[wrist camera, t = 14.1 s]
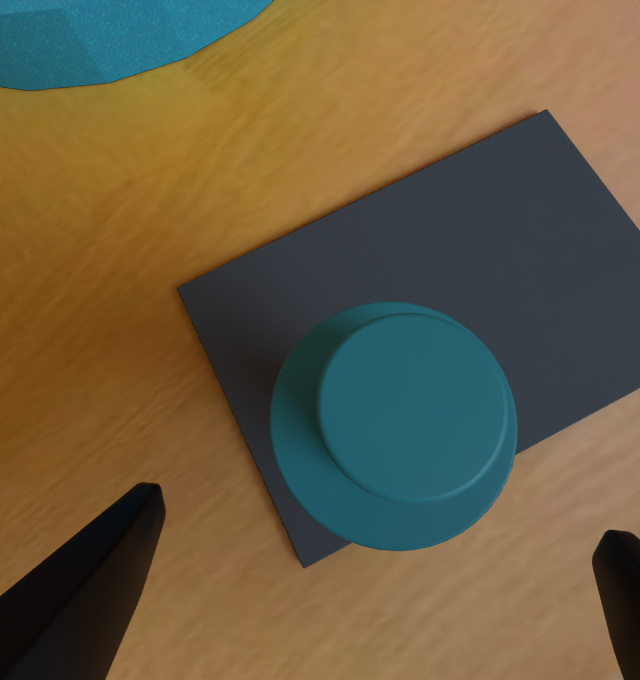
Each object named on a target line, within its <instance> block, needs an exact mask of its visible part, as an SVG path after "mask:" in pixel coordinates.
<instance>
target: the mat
mask: <svg viewBox="0 0 640 680" xmlns="http://www.w3.org/2000/svg"><path fill="white" fill-rule="evenodd" d="M177 290H178V292H179V294H180V297H181V299H182V301H183V303H184V305H185V308H186V310H187V312H188V314H189V316H190V319H191V321H192V323H193V325H194V328H195V330H196V332H197V334H198V336H199V339H200V341H201V343H202V345H203V347H204V350H205V352H206V354H207V356H208V358H209V361H210V363H211V365H212V367H213V370H214V372H215V374H216V376H217V378H218V381H219V383H220V385H221V387H222V389H223V392H224V394H225V396H226V398H227V401H228V403H229V405H230V407H231V409H232V412H233V414H234V416H235V418H236V420H237V423H238V425H239V427H240V429H241V432H242V434H243V436H244V438H245V440H246V443H247V445H248V447H249V449H250V451H251V454H252V456H253V458H254V460H255V463H256V465H257V467H258V469H259V471H260V474H261V476H262V478H263V480H264V482H265V485H266V487H267V489H268V491H269V494H270V496H271V498H272V500H273V502H274V505H275V507H276V509H277V511H278V513H279V516H280V518H281V520H282V522H283V525H284V527H285V529H286V531H287V533H288V536H289V538H290V540H291V542H292V544H293V547H294V549H295V551H296V553H297V556H298V558H299V560H300V562H301V564H302V567H303V568H306V567H308V566H310V565H312V564H314V563H315V562H317V561H319V560H321V559H323V558H325V557H327V556H328V555H330V554H332V553H334V552H336V551H338V550H340V549H341V548H343V547H345V546H347V545H349V544H351V543H353V542H350V541H347V540H345V539H343V538H341V537H339V536H338V535H336V534H334V533H332V532H330V531H329V530H327V529H326V528H325V527H323V526H322V525H320V524H319V523H318V522H316V521H315V520H314V519H313V518H312V517H311V516H310V515H309V514H308V513H307V512H306V511H305V510H304V509H303V508H302V507H301V506H300V504H299V503H298V502H297V501H296V499H295V498H294V497H293V495H292V494H291V492H290V491H289V489H288V487H287V486H286V484H285V483H284V480H283V478H282V476H281V474H280V472H279V469H278V467H277V464H276V461H275V458H274V454H273V451H272V445H271V439H270V428H269V415H270V403H271V399H272V394H273V389H274V386H275V383H276V380H277V378H278V375H279V372H280V370H281V368H282V366H283V364H284V362H285V361H286V359H287V357H288V356H289V354H290V353H291V351H292V350H293V349H294V347H295V346H296V345H297V344H298V342H299V341H300V340H301V339H302V338H303V337H304V336H305V335H306V334H307V333H308V332H309V331H310V330H312V329H313V328H314V327H315V326H316V325H318V324H319V323H321V322H322V321H324V320H325V319H327V318H328V317H330V316H332V315H334V314H336V313H338V312H340V311H342V310H345V309H348V308H351V307H354V306H357V305H361V304H366V303H371V302H382V301H396V302H407V303H413V304H418V305H421V306H425V307H428V308H431V309H434V310H436V311H438V312H441V313H443V314H445V315H447V316H449V317H451V318H452V319H454V320H456V321H458V322H459V323H461V324H462V325H463V326H465V327H466V328H467V329H469V330H470V331H471V332H472V333H473V334H475V335H476V336H477V337H478V338H479V339H480V340H481V341H482V342H483V343H484V344H485V346H486V347H487V348H488V349H489V351H490V352H491V353H492V354H493V356H494V357H495V359H496V360H497V362H498V364H499V365H500V367H501V369H502V370H503V372H504V375H505V377H506V379H507V381H508V384H509V386H510V389H511V393H512V396H513V399H514V403H515V409H516V415H517V444H516V452H515V455H516V454H518V453H520V452H522V451H524V450H525V449H527V448H529V447H531V446H533V445H535V444H537V443H538V442H540V441H542V440H544V439H546V438H548V437H550V436H551V435H553V434H555V433H557V432H559V431H561V430H563V429H564V428H566V427H568V426H570V425H572V424H574V423H576V422H577V421H579V420H581V419H583V418H585V417H587V416H589V415H591V414H592V413H594V412H596V411H598V410H600V409H602V408H604V407H605V406H607V405H609V404H611V403H613V402H615V401H617V400H618V399H620V398H622V397H624V396H626V395H628V394H630V393H631V392H633V391H635V390H637V389H639V388H640V231H639V229H638V228H637V227H636V225H635V224H634V223H633V221H632V220H631V219H630V218H629V216H628V215H627V214H626V212H625V211H624V210H623V208H622V207H621V206H620V204H619V203H618V202H617V200H616V199H615V198H614V197H613V195H612V194H611V193H610V191H609V190H608V189H607V187H606V186H605V185H604V183H603V182H602V181H601V179H600V178H599V177H598V176H597V174H596V173H595V172H594V170H593V169H592V168H591V166H590V165H589V164H588V162H587V161H586V160H585V158H584V157H583V156H582V155H581V153H580V152H579V151H578V149H577V148H576V147H575V145H574V144H573V143H572V141H571V140H570V139H569V137H568V136H567V135H566V134H565V132H564V131H563V130H562V128H561V127H560V126H559V124H558V123H557V122H556V120H555V119H554V118H553V116H552V115H551V114H550V113H549V111H548V110H547V109H546V110H544V111H542V112H540V113H538V114H536V115H534V116H531V117H529V118H527V119H525V120H523V121H521V122H519V123H517V124H515V125H513V126H511V127H509V128H507V129H505V130H502V131H500V132H498V133H496V134H494V135H492V136H490V137H488V138H486V139H484V140H482V141H480V142H478V143H476V144H474V145H471V146H469V147H467V148H465V149H463V150H461V151H459V152H457V153H455V154H453V155H451V156H449V157H447V158H445V159H442V160H440V161H438V162H436V163H434V164H432V165H430V166H428V167H426V168H424V169H422V170H420V171H418V172H416V173H414V174H411V175H409V176H407V177H405V178H403V179H401V180H399V181H397V182H395V183H393V184H391V185H389V186H387V187H385V188H382V189H380V190H378V191H376V192H374V193H372V194H370V195H368V196H366V197H364V198H362V199H360V200H358V201H356V202H354V203H351V204H349V205H347V206H345V207H343V208H341V209H339V210H337V211H335V212H333V213H331V214H329V215H327V216H325V217H322V218H320V219H318V220H316V221H314V222H312V223H310V224H308V225H306V226H304V227H302V228H300V229H298V230H296V231H294V232H291V233H289V234H287V235H285V236H283V237H281V238H279V239H277V240H275V241H273V242H271V243H269V244H267V245H265V246H262V247H260V248H258V249H256V250H254V251H252V252H250V253H248V254H246V255H244V256H242V257H240V258H238V259H236V260H234V261H231V262H229V263H227V264H225V265H223V266H221V267H219V268H217V269H215V270H213V271H211V272H209V273H207V274H205V275H202V276H200V277H198V278H196V279H194V280H192V281H190V282H188V283H186V284H184V285H182V286H180V287H178V288H177Z"/></svg>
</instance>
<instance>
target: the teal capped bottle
mask: <svg viewBox="0 0 640 680" xmlns="http://www.w3.org/2000/svg"><path fill="white" fill-rule="evenodd" d="M269 428H270V439H271V445H272V451H273V454H274V458H275V461H276V464H277V467H278V469H279V472H280V474H281V476H282V478H283V480H284V483H285V484H286V486H287V487H288V489H289V491H290V492H291V494H292V495H293V497H294V498H295V499H296V501H297V502H298V503H299V504H300V506H301V507H302V508H303V509H304V510H305V511H306V512H307V513H308V514H309V515H310V516H311V517H312V518H313V519H314V520H315V521H316V522H318V523H319V524H320V525H322V526H323V527H325V528H326V529H327V530H329V531H330V532H332V533H334V534H336V535H338V536H339V537H341V538H343V539H345V540H347V541H350V542H353V543H355V544H358V545H361V546H364V547H369V548H373V549H378V550H388V551H407V550H417V549H421V548H426V547H431V546H434V545H436V544H439V543H442V542H445V541H447V540H449V539H451V538H453V537H455V536H457V535H458V534H460V533H462V532H464V531H465V530H466V529H468V528H469V527H470V526H472V525H473V524H474V523H476V522H477V521H478V520H479V519H480V518H481V517H482V516H483V515H484V514H485V513H486V512H487V511H488V510H489V508H490V507H491V506H492V504H493V503H494V502H495V500H496V499H497V498H498V496H499V494H500V492H501V491H502V489H503V487H504V485H505V483H506V481H507V479H508V476H509V474H510V471H511V468H512V465H513V461H514V457H515V452H516V444H517V415H516V409H515V403H514V399H513V396H512V393H511V389H510V386H509V384H508V381H507V379H506V377H505V375H504V372H503V370H502V369H501V367H500V365H499V364H498V362H497V360H496V359H495V357H494V356H493V354H492V353H491V352H490V351H489V349H488V348H487V347H486V346H485V344H484V343H483V342H482V341H481V340H480V339H479V338H478V337H477V336H476V335H475V334H473V333H472V332H471V331H470V330H469V329H467V328H466V327H465V326H463V325H462V324H461V323H459V322H458V321H456V320H454V319H452V318H451V317H449V316H447V315H445V314H443V313H441V312H438V311H436V310H434V309H431V308H428V307H425V306H421V305H418V304H413V303H407V302H396V301H382V302H371V303H366V304H361V305H357V306H354V307H351V308H348V309H345V310H342V311H340V312H338V313H336V314H334V315H332V316H330V317H328V318H327V319H325V320H324V321H322V322H321V323H319V324H318V325H316V326H315V327H314V328H313V329H312V330H310V331H309V332H308V333H307V334H306V335H305V336H304V337H303V338H302V339H301V340H300V341H299V342H298V344H297V345H296V346H295V347H294V349H293V350H292V351H291V353H290V354H289V356H288V357H287V359H286V361H285V362H284V364H283V366H282V368H281V370H280V372H279V375H278V378H277V380H276V383H275V386H274V389H273V394H272V399H271V403H270V415H269Z"/></svg>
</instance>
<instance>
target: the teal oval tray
mask: <svg viewBox="0 0 640 680" xmlns="http://www.w3.org/2000/svg"><path fill="white" fill-rule="evenodd" d="M272 1H273V0H0V87H7V88H14V89H22V90H39V89H50V88H60V87H70V86H80V85H91V84H101V83H109V82H112V81H115V80H118V79H122V78H125V77H128V76H131V75H134V74H137V73H140V72H143V71H146V70H150V69H153V68H156V67H159V66H162V65H165V64H168V63H171V62H174V61H178V60H181V59H184V58H186V57H188V56H190V55H191V54H193V53H195V52H197V51H198V50H200V49H202V48H204V47H205V46H207V45H209V44H211V43H212V42H214V41H216V40H217V39H219V38H221V37H223V36H224V35H226V34H228V33H230V32H231V31H233V30H235V29H237V28H238V27H240V26H242V25H243V24H245V23H247V22H249V21H250V20H252V19H254V18H255V17H256V16H257V15H258V14H259V13H260V12H261V11H262V10H263V9H264V8H265V7H266V6H268V5H269V4H270V3H271V2H272Z"/></svg>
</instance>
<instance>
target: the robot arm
mask: <svg viewBox="0 0 640 680" xmlns="http://www.w3.org/2000/svg"><path fill="white" fill-rule="evenodd" d="M165 515H166V509H165V504H164V499H163V495H162V490H161V487H160V485H159V484H156V483H146V482H141V483H139V484H137V485H135V486H134V487H133V488H132V489H130V490H129V491H128V492H127V493H126V494H124V495H123V496H122V497H121V498H119V499H118V500H117V501H116V502H115V503H113V504H112V505H111V506H110V507H108V508H107V509H106V510H105V511H104V512H102V513H101V514H100V515H99V516H97V517H96V518H95V519H94V520H93V521H91V522H90V523H89V524H88V525H86V526H85V527H84V528H83V529H82V530H80V531H79V532H78V533H77V534H75V535H74V536H73V537H72V538H71V539H69V540H68V541H67V542H66V543H64V544H63V545H62V546H61V547H60V548H58V549H57V550H56V551H55V552H53V553H52V554H51V555H50V556H49V557H47V558H46V559H45V560H44V561H42V562H41V563H40V564H39V565H38V566H36V567H35V568H34V569H33V570H31V571H30V572H29V573H28V574H27V575H25V576H24V577H23V578H22V579H20V580H19V581H18V582H17V583H16V584H14V585H13V586H12V587H11V588H9V589H8V590H7V591H6V592H5V593H3V594H2V595H1V596H0V680H105V679H106V677H107V674H108V672H109V670H110V667H111V665H112V663H113V660H114V658H115V656H116V653H117V651H118V649H119V646H120V644H121V641H122V639H123V637H124V634H125V632H126V630H127V627H128V625H129V623H130V620H131V618H132V616H133V613H134V611H135V609H136V606H137V604H138V601H139V599H140V596H141V594H142V591H143V588H144V585H145V582H146V579H147V575H148V572H149V569H150V566H151V563H152V559H153V556H154V553H155V550H156V547H157V543H158V540H159V537H160V534H161V530H162V527H163V524H164V521H165ZM592 566H593V571H594V575H595V579H596V583H597V587H598V591H599V595H600V599H601V603H602V607H603V611H604V615H605V619H606V623H607V627H608V631H609V635H610V639H611V642H612V646H613V649H614V652H615V655H616V659H617V662H618V665H619V667H620V670H621V673H622V676H623V678H624V680H640V539H639V538H638V537H636V536H635V535H634V534H632V533H630V532H627V531H619V530H608V531H606V532H605V533H604V535H603V537H602V539H601V540H600V542H599V544H598V546H597V548H596V550H595V552H594V554H593V557H592Z"/></svg>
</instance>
